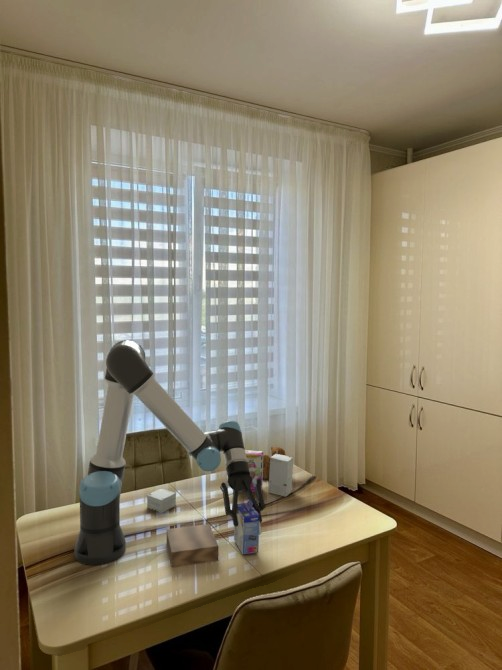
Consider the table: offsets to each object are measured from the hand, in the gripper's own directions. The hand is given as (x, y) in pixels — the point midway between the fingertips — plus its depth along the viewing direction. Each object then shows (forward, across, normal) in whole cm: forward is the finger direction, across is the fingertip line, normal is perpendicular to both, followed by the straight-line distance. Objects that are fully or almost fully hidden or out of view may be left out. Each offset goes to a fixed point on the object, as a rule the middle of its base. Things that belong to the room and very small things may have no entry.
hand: (250, 535), depth 145 cm
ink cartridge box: (+1, 0, -7) cm, 7 cm away
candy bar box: (-27, -14, -36) cm, 47 cm away
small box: (-24, +22, -34) cm, 46 cm away
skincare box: (-24, -26, -32) cm, 48 cm away
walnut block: (0, +17, -10) cm, 19 cm away
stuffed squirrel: (-35, -29, -44) cm, 63 cm away
